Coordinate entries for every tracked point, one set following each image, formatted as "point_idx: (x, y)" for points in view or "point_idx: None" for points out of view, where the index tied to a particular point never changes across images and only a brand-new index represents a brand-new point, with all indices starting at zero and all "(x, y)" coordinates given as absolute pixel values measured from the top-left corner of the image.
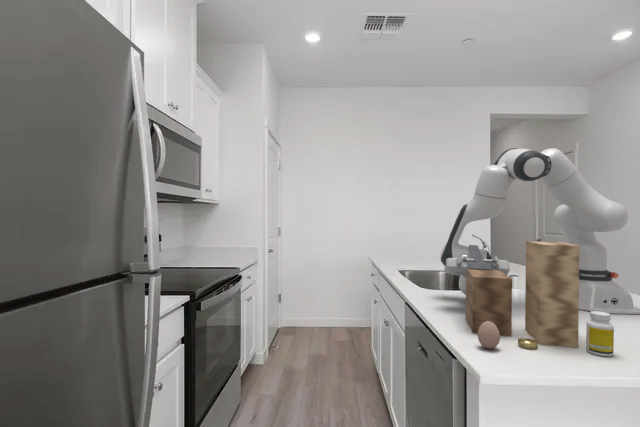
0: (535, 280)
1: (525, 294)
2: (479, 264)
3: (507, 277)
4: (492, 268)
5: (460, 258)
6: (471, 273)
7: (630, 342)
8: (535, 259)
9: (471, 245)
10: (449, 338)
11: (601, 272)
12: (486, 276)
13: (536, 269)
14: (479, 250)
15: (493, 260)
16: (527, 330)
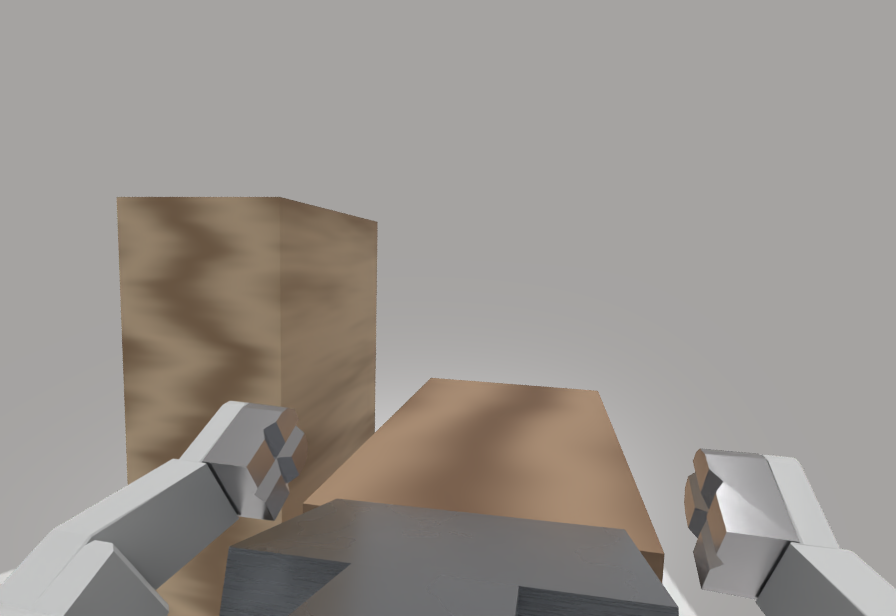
0: (356, 366)
1: (282, 518)
2: (470, 547)
3: (436, 386)
4: (356, 506)
5: (850, 580)
6: (604, 427)
7: (6, 578)
8: (356, 283)
9: None
10: (675, 593)
11: None
12: (531, 394)
13: (360, 320)
14: None
15: (297, 448)
16: None
